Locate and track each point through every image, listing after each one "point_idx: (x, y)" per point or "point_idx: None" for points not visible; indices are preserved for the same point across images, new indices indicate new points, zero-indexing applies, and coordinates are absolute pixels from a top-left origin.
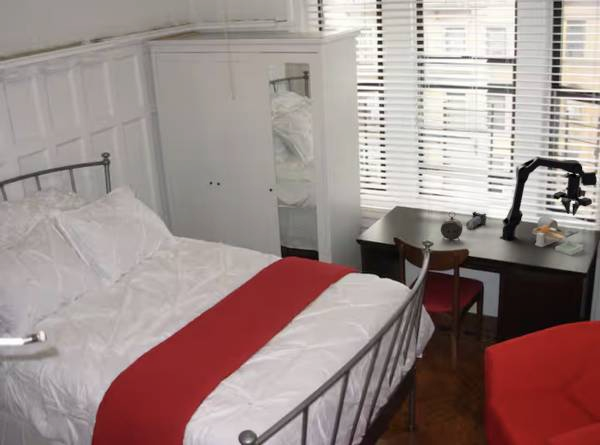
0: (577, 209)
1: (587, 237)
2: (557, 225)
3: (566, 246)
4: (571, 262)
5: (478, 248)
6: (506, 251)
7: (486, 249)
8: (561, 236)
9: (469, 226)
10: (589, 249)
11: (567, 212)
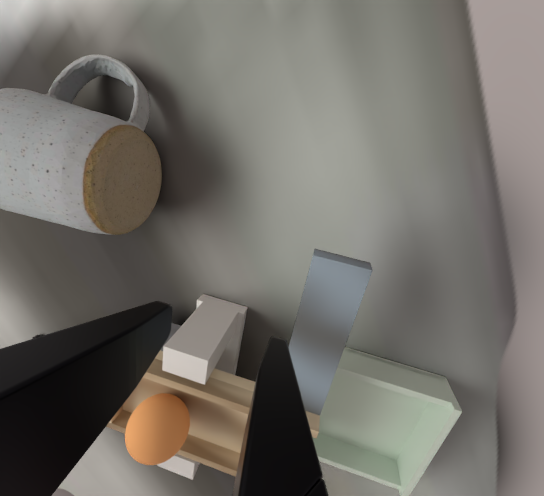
0: (323, 480)
1: (415, 116)
2: (137, 138)
3: (336, 375)
4: None
5: (71, 479)
6: (149, 480)
7: (93, 480)
8: None
9: None
10: (485, 348)
11: (143, 367)
